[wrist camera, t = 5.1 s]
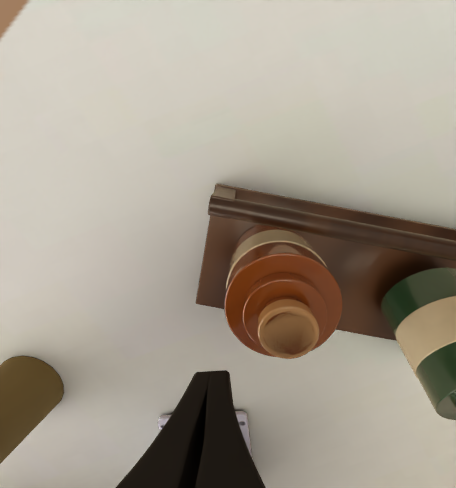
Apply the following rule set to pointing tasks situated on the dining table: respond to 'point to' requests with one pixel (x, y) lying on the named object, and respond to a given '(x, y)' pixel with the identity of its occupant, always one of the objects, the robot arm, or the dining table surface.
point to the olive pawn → (25, 398)
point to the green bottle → (427, 332)
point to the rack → (328, 249)
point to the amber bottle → (280, 293)
